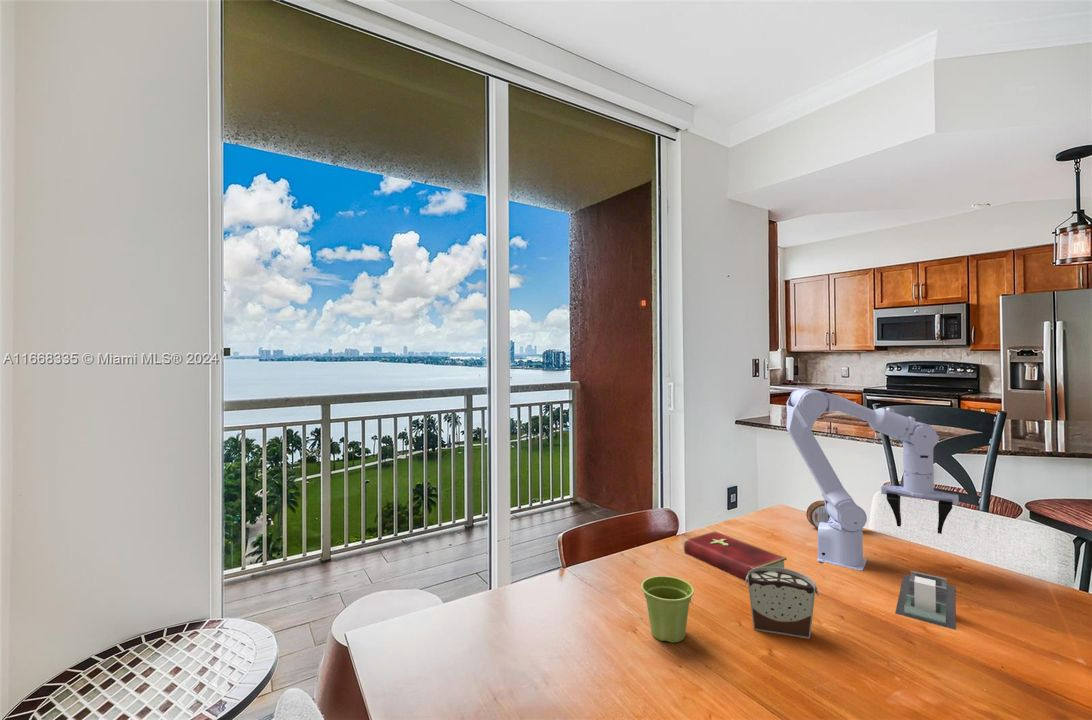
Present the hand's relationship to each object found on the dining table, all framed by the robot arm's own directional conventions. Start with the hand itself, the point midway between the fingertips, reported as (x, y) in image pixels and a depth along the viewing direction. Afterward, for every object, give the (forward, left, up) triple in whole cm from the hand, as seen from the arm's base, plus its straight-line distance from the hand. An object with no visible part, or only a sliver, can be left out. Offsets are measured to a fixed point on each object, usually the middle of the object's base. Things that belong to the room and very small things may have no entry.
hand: (918, 528), depth 114 cm
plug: (+2, -25, -9) cm, 27 cm away
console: (+2, -18, -9) cm, 21 cm away
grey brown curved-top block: (-19, -47, -10) cm, 52 cm away
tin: (-20, +17, -10) cm, 28 cm away
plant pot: (-34, -63, -10) cm, 73 cm away
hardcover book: (-36, -25, -10) cm, 44 cm away
